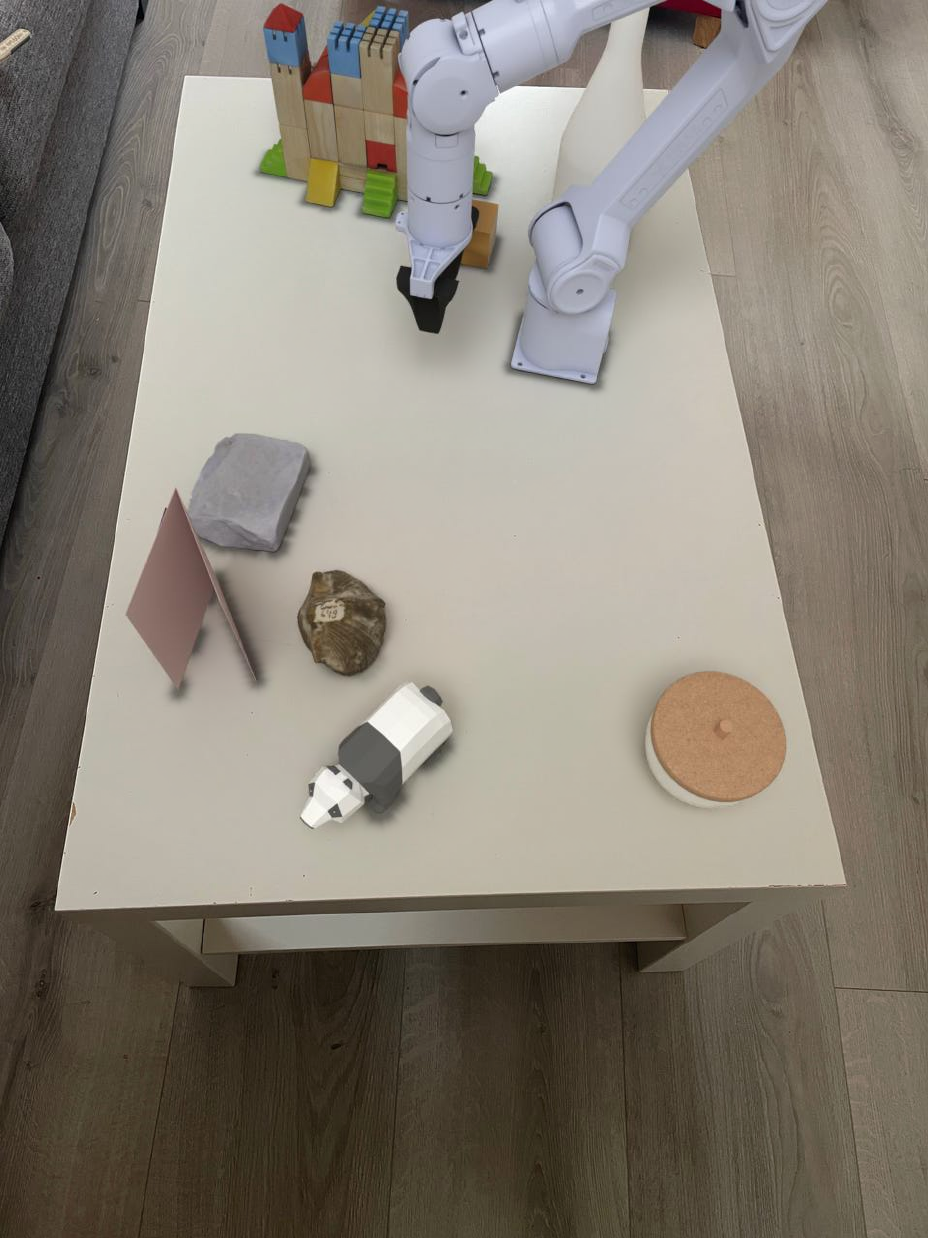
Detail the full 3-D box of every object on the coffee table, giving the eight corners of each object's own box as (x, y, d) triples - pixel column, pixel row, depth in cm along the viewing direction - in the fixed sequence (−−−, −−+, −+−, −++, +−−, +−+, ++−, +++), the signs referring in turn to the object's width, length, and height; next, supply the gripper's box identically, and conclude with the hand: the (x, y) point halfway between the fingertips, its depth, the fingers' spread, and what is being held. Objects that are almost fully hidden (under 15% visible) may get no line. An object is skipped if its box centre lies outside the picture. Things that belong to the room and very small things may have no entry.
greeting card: (207, 577, 81) (164, 485, 67) (284, 591, 80) (256, 500, 67) (168, 688, 76) (113, 612, 62) (250, 703, 75) (212, 629, 62)
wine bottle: (530, 232, 103) (568, -51, 76) (584, 199, 106) (639, -85, 80) (586, 276, 101) (646, -3, 74) (640, 240, 104) (716, -40, 77)
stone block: (192, 549, 84) (285, 558, 82) (170, 519, 80) (268, 528, 77) (232, 457, 89) (321, 463, 87) (214, 425, 85) (306, 430, 83)
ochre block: (495, 240, 103) (498, 203, 98) (487, 268, 100) (490, 232, 96) (455, 232, 103) (456, 195, 98) (445, 261, 101) (446, 224, 96)
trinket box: (622, 707, 77) (646, 666, 68) (738, 700, 77) (776, 658, 69) (643, 827, 72) (672, 799, 63) (766, 817, 73) (811, 788, 64)
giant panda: (412, 698, 76) (411, 655, 68) (458, 738, 75) (463, 699, 66) (291, 819, 71) (273, 789, 62) (338, 865, 69) (325, 840, 61)
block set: (498, 161, 109) (512, -4, 92) (473, 235, 103) (483, 72, 85) (286, 121, 111) (261, -49, 93) (249, 191, 104) (215, 23, 87)
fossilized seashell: (304, 562, 79) (277, 665, 76) (332, 545, 73) (304, 656, 71) (375, 588, 82) (352, 688, 80) (408, 575, 77) (383, 681, 74)
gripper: (415, 122, 77) (416, 246, 90) (373, 229, 71) (381, 347, 83) (491, 135, 77) (481, 259, 89) (456, 244, 71) (451, 361, 83)
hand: (437, 302), depth 86 cm, fingers open, 7 cm apart
